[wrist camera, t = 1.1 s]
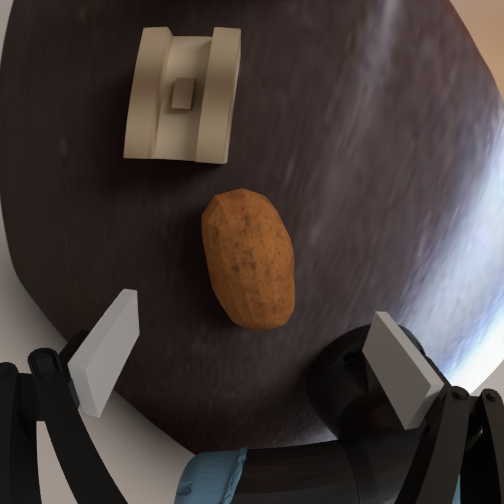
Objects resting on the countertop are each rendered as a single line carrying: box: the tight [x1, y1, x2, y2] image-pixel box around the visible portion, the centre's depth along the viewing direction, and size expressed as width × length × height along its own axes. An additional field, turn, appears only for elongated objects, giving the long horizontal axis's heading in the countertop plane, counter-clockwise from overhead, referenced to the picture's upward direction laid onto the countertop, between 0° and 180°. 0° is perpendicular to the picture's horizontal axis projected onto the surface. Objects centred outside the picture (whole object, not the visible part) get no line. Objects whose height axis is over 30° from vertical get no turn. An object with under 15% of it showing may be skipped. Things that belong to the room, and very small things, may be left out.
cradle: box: [123, 27, 241, 164], centre depth 21 cm, size 10×7×6 cm
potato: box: [201, 188, 295, 331], centre depth 25 cm, size 7×13×7 cm, turn 10°
